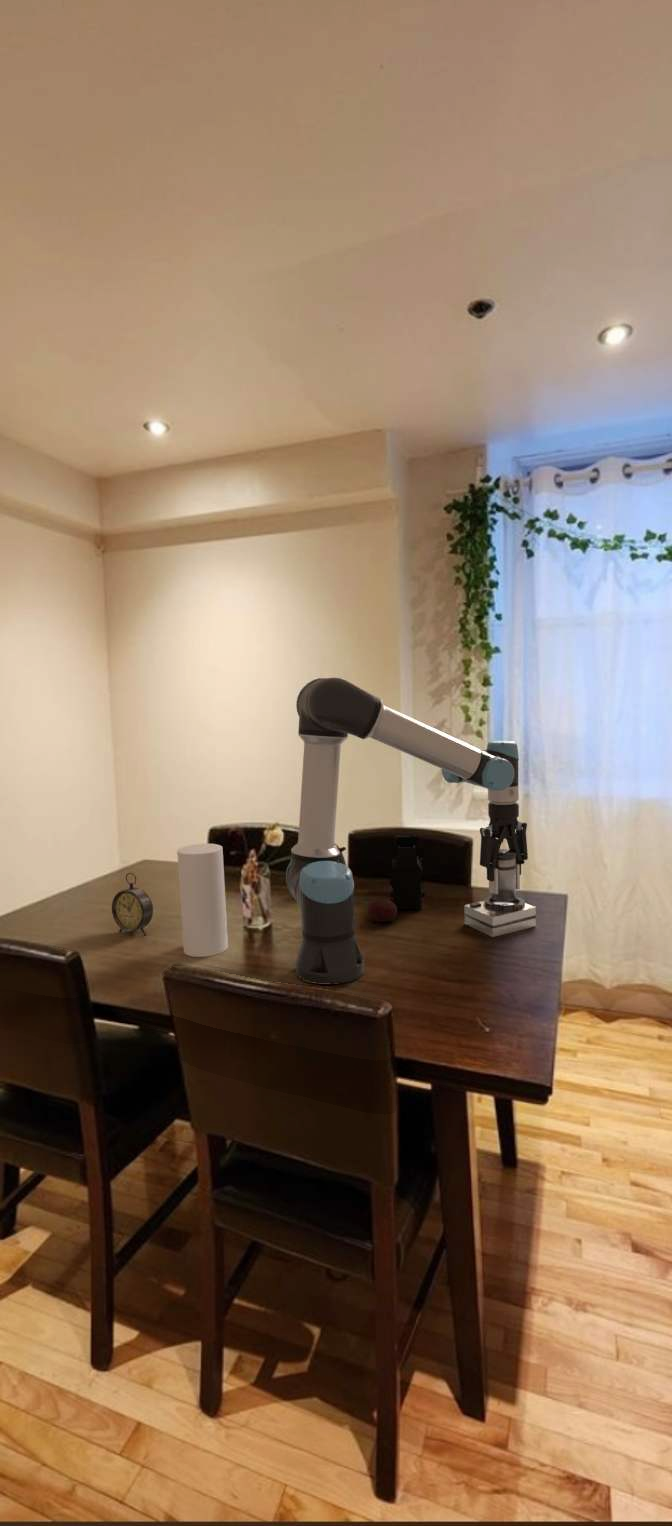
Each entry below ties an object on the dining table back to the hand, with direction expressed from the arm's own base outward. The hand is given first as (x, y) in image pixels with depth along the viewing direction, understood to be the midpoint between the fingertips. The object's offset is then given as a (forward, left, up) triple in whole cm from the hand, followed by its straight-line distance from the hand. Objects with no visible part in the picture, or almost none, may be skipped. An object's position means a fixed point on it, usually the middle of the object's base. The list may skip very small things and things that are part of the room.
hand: (504, 890), depth 173 cm
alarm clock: (-85, +47, -9) cm, 97 cm away
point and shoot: (-2, 0, -9) cm, 9 cm away
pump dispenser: (-25, +50, -9) cm, 56 cm away
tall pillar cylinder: (-72, +26, -9) cm, 77 cm away
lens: (0, 0, -2) cm, 2 cm away
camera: (-12, +28, -9) cm, 32 cm away
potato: (-26, +19, -9) cm, 33 cm away
